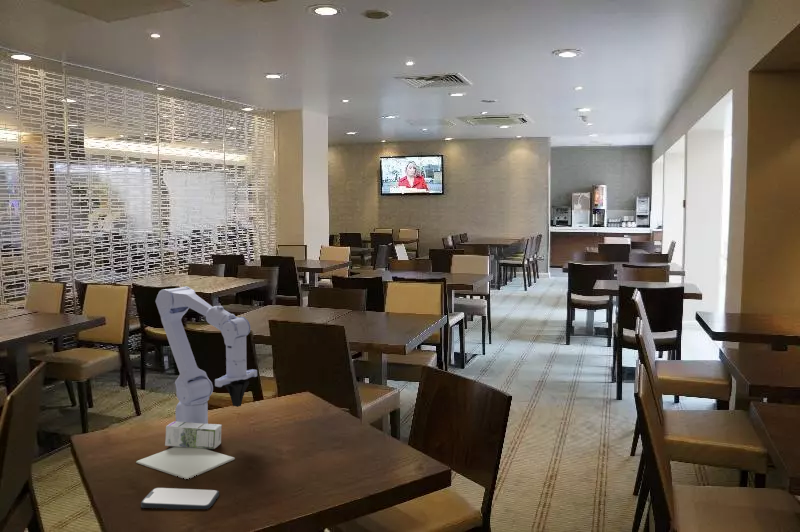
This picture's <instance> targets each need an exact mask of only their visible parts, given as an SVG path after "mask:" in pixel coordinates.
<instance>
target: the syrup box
mask: <svg viewBox="0 0 800 532" xmlns="http://www.w3.org/2000/svg"><path fill="white" fill-rule="evenodd" d="M222 427H223V424H219V423H218V424H217V423H208V424H203V423H190V422H177V421H176V420H174V421H172V422H170V423H168V424H167V425H166V426H165V442H164V446H165V447H166V446H167V447H176V446H177V447H191V448H203V449H207V450H215V449H216V448H218V447H219V446H220V445H221V444H222Z"/></svg>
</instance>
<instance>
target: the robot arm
mask: <svg viewBox="0 0 800 532" xmlns="http://www.w3.org/2000/svg"><path fill="white" fill-rule="evenodd" d="M154 302H155V304H156V307H157V310H158V314H159V316H160V321H161V324H162V326H163V330H164V334H165V335H166V337H167V341H168V344H169V347H170V350H171V353H172V355H173V358H174V361H175V363H176V367H177V369H178V372H179V375H178V377H177V378H176V379H175V381H174V384H175V391H176V392H175V393H176V397H177V400H178V403H177V404H176V406H175V411H174V412H175V421H177V422H190V423H203V424H209V413H208V412H209V411H208V410H209V409H208V408H209V407H208V406H209V405H208V401H209V400H210V396H211V395H212V394H213V391H214V387H217V388H222V387H223V386H225V389H226V390H227V392H228V394H229V396H230V399H231V402H232V403H231V404H232V406H233V407H241V406H242V403H243V398H244V395H245V392H246V390H247V388H248V387H249V385H250V381H249V380H248V379H250V378H256V377H258V370H257V369H255V368H254V369H253V368H252V369H248V368H247V364H248V363H247V336H248V335H249V334H250V333H251V323H250V322H249V320H248V319H247V318H246V317H245V316H239V317H238V316H236V315H235V314H234V313H231V312H229V311H227V310H226V309H224V306H223V305H214V306H212V305H211V304H210V303H209V302H207V301H205V300H204V299H203V298H202V297H200V296H199V295H197V294H196V290H195V289H192V288H191V287H190V286H186V285H185V286H182V287H175V288H165V289H164V288H163V289H161V290H159V291H158V294H157V295H156V298H155V301H154ZM189 309H190V310H192V311H195V312H197V313H198V314H200V315H202V316H204V317H205V321H206V322H207V323H208V324H209V325H210V326H213V327H214V328H216V329H217V330H218V331H220V332H221V335H222V337H223V341H224V345H225V358H226V359H225V366H226V368H225V370H226V371H225V372H226V373H225V375H222V376H221V377H219V378H215V379H214V385H213V382H212V381H211V380H210V379H209V377H208V374H207V372H206V371H205V370H203V369H200V368H199V366H198V365H197V362H196V360H195V359H196V358H195V356H194V354H193V351H192V348H191V343H190V342H189V339H188V337H187V333H186V331H185V327H184V325H183V322H182V319H183V316H184V315H185V314H187V312H188V310H189Z"/></svg>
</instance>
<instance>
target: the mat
mask: <svg viewBox="0 0 800 532" xmlns="http://www.w3.org/2000/svg"><path fill="white" fill-rule="evenodd" d="M235 459H236V457H234V456H231V455H227V454H223V453H220V452H217V451H213V450H211V449H205V448H191V447H177V446H172V447H170V448H168V449H164V450H163V451H160V452H157V453H155V454H151V455H149V456H146V457H144V458H141V459H139V460H136V462H135V463H136V464H139V465H141V466H145V467H147V468H150V469H153V470H157V471H160V472H163V473H165V474H169V475H172V476H173V477H177V476H178V478H180V479H183V478H184V480H186V479H188V480H190V479H192V478H194V476H195V477H197V476H199V475H202V474H204V473H206V472H208V471H211V470H214V469H216V468H218V467H219V466H222V465H225V464H226V463H230V462H231V461H234V460H235ZM196 475H197V476H196ZM189 478H190V479H189Z"/></svg>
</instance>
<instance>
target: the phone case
mask: <svg viewBox="0 0 800 532" xmlns="http://www.w3.org/2000/svg"><path fill="white" fill-rule="evenodd" d="M219 497H220V491H219V490H217V489H201V488H200V489H199V488H198V489H197V488H177V487H174V488H173V487H155V488H153V489H152V490H151V491H150V492H149V493H148V494H147V495H145V497H144V498H143V499H142V500H141V501H140V507H141V508H142V509H144V508H152V509H151V510H154V509H153V508H156V509H155V510H158V509H157V508H164V509H163V510H181V509H207V510H209V509H208V508H210V507H211V506H213V505H214V504H215V502H216V501H217V500H216V499H219ZM165 508H167V509H165ZM211 508H212V507H211ZM211 508H210V509H211Z"/></svg>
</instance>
